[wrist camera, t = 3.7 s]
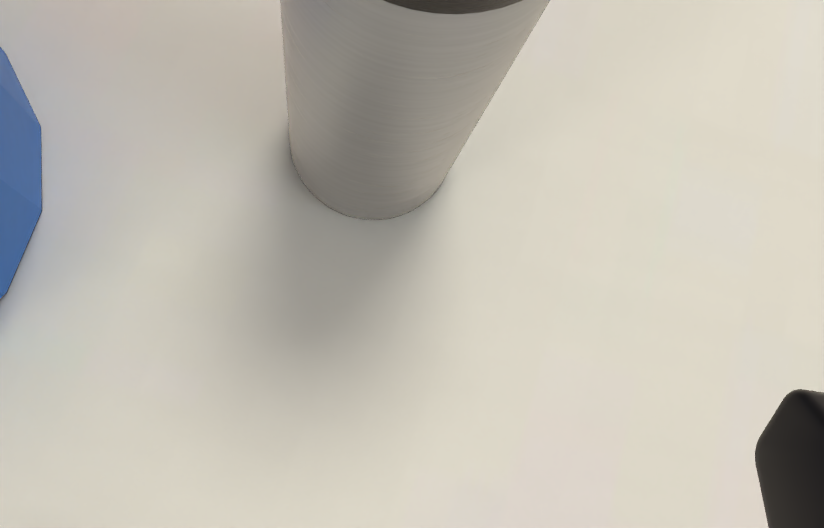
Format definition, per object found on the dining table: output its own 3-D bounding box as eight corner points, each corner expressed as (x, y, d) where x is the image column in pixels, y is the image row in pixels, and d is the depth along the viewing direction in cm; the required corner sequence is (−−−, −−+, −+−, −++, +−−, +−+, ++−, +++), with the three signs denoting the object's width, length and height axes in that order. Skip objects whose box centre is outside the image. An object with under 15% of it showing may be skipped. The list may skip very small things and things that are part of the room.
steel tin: (486, 136, 22) (697, -187, 10) (381, 256, 21) (480, 54, 9) (362, 32, 23) (426, -412, 10) (252, 146, 22) (181, -197, 9)
